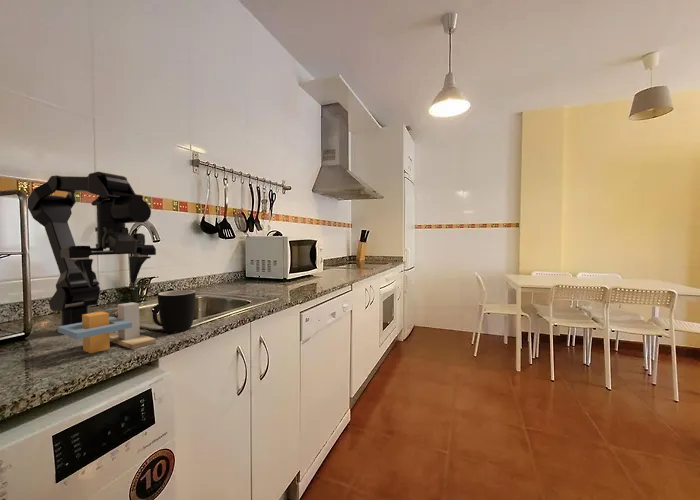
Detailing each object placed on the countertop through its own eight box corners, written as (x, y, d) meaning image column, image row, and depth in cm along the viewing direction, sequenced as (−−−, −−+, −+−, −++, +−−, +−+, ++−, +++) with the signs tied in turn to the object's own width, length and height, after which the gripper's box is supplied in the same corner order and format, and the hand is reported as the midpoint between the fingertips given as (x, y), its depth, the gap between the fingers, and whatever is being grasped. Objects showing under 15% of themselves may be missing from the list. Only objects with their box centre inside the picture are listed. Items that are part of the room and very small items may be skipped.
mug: (177, 324, 91) (176, 289, 91) (203, 326, 89) (202, 290, 89) (139, 336, 80) (138, 296, 80) (168, 338, 78) (167, 298, 77)
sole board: (103, 339, 77) (103, 335, 77) (126, 334, 82) (126, 330, 82) (132, 349, 70) (132, 344, 70) (155, 342, 74) (155, 338, 74)
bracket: (58, 347, 68) (57, 311, 68) (126, 332, 80) (125, 301, 79) (77, 356, 63) (76, 316, 63) (147, 338, 75) (146, 305, 74)
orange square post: (83, 350, 70) (82, 314, 69) (102, 345, 73) (101, 311, 72) (90, 353, 68) (89, 316, 67) (109, 348, 71) (108, 313, 71)
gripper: (78, 220, 67) (80, 292, 68) (166, 224, 84) (167, 282, 84) (58, 222, 73) (60, 288, 74) (144, 225, 89) (145, 280, 90)
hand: (113, 284), depth 80 cm, fingers open, 9 cm apart
